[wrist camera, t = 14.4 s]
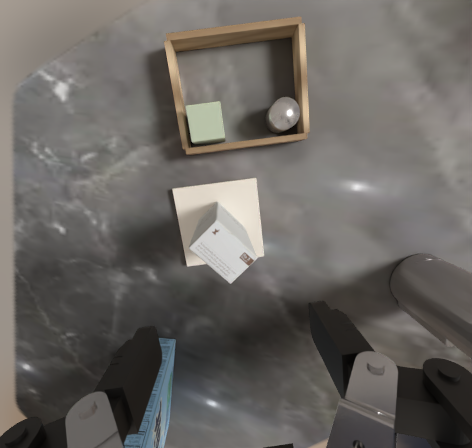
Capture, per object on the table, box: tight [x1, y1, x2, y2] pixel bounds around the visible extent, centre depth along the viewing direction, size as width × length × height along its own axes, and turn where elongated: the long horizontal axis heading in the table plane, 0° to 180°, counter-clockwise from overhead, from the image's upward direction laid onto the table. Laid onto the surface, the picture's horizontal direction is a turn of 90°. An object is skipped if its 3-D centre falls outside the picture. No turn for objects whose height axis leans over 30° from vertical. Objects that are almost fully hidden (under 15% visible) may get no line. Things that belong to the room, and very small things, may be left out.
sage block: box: [186, 101, 225, 145], centre depth 31 cm, size 4×4×5 cm
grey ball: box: [265, 97, 300, 133], centre depth 31 cm, size 4×4×4 cm
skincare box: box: [189, 201, 257, 284], centre depth 30 cm, size 6×4×12 cm
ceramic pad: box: [172, 178, 264, 266], centre depth 36 cm, size 12×12×1 cm
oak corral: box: [164, 17, 310, 155], centre depth 31 cm, size 13×16×3 cm
